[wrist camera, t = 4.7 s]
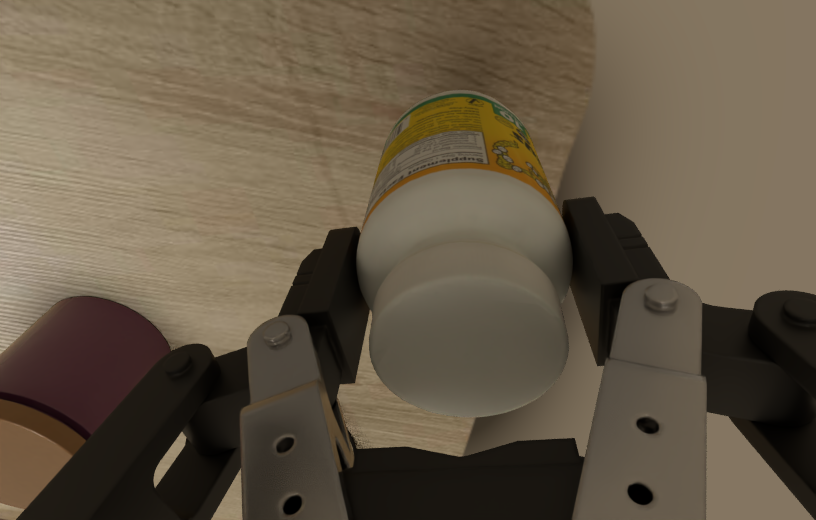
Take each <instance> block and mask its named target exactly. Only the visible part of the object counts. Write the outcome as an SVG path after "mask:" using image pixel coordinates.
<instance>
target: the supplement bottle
mask: <svg viewBox="0 0 816 520" xmlns="http://www.w3.org/2000/svg"><path fill="white" fill-rule="evenodd" d="M356 271H357V277H358V282H359V286H360V289H361V292H362V295H363V297H364V299H365V301H366V303H367V305H368V306H369V308H370V310H371V311H372V324H371V330H370V337H369V351H370V358H371V362H372V364H373V367H374V369H375V371H376V373H377V375H378V376H379V378H380V379H381V381H382V382H383V383H384V384H385V385H386V386H387V387H388V388H389V390H391V391H392V392H393V393H394V394H395V395H397V396H398V397H400V398H401V399H403V400H404V401H406V402H408V403H410V404H412V405H414V406H416V407H418V408H421V409H424V410H426V411H429V412H432V413H437V414H442V415H447V416H456V417H485V416H492V415H497V414H502V413H505V412H509V411H512V410H514V409H517V408H520V407H522V406H525V405H526V404H528V403H530V402H532V401H534V400H536V399H538V398H539V397H540V396H542V395H543V394H544V393H545V392H546V391H547V390H548V389H549V388H550V387H551V386H552V385H553V384H554V383H555V382H556V381H557V379H558V378H559V376H560V375H561V373H562V372H563V369H564V367H565V364H566V361H567V357H568V351H569V345H568V344H569V343H568V334H567V330H566V326H565V321H564V317H563V313H562V310H561V304H562V302H563V301H564V299H565V297H566V294H567V291H568V289H569V286H570V282H571V278H572V271H573V252H572V246H571V241H570V237H569V234H568V230H567V228H566V225H565V223H564V220H563V218H562V215H561V213H560V210H559V208H558V205H557V203H556V201H555V198H554V196H553V193H552V191H551V188H550V186H549V183H548V181H547V178H546V175H545V173H544V171H543V168H542V165H541V163H540V160H539V158H538V156H537V153H536V151H535V148H534V146H533V142H532V140H531V138H530V136H529V134H528V132H527V130H526V128H525V127H524V125H523V124H522V122H521V121H520V119H519V118H518V117H517V116H516V115H515V114H514V113H513V112H512V111H510V110H509V109H508V108H507V107H505V106H504V105H503V104H501V103H500V102H499V101H497V100H495V99H494V98H492V97H490V96H487V95H485V94H482V93H479V92H475V91H469V90H452V91H445V92H441V93H438V94H435V95H432V96H429V97H427V98H425V99H423V100H421V101H419V102H418V103H416V104H415V105H413V106H412V107H411V108H409V109H408V110H407V111H406V112H405V113H404V114H403V115H402V116H401V117H400V118H399V119H398V121H397V122H396V123H395V125H394V126H393V128H392V130H391V131H390V133H389V136H388V138H387V140H386V143H385V146H384V150H383V153H382V156H381V159H380V163H379V167H378V171H377V175H376V178H375V182H374V186H373V190H372V193H371V196H370V200H369V204H368V208H367V211H366V215H365V219H364V222H363V226H362V230H361V234H360V238H359V243H358V248H357V256H356Z"/></svg>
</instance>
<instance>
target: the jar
mask: <svg viewBox="0 0 816 520" xmlns="http://www.w3.org/2000/svg"><path fill="white" fill-rule="evenodd" d="M169 352H171V351H170V348H169V345H168V344H167V342H166V340H165V338H164V337H163V336H162V334H161V333H160V332H159V331H158V330H157V329H156V328H155V327H154V326H153V325H152V324H151V323H150V322H149V321H148V320H146V319H145V318H144V317H142V316H141V315H139V314H138V313H136V312H135V311H133V310H131V309H129V308H127V307H125V306H123V305H120V304H118V303H115V302H112V301H109V300H106V299H102V298H96V297H86V296H80V297H71V298H67V299H64V300H61V301H59V302H58V303H56V304H55V305H53V306H52V307H51V308H50V309H49V310H48V311H47V312H46V313H45V314H44V315H42V316H41V317H40V318H39V319H38V320H37V321H36V322H35V323H34V324H33V325H32V326H31V327H29V328H28V329H27V330H26V331H25V332H24V333H23V334H22V335H21V336H20V337H19V338H17V339H16V340H15V341H14V342H13V343H12V344H11V345H10V346H9V347H8V348H7V349H6V350H4V351H3V352H2V353H1V354H0V503H3V504H6V505H10V506H13V507H17V508H22V509H26V508H27V507H28V506H29V504H30V503H31V502H32V501H33V500H34V499H35V498H36V497H37V495H38V494H39V493H40V492H41V491H42V490H43V489H44V488H45V487H46V485H47V484H48V483H49V482H50V481H51V480H52V479H53V478H54V476H55V475H56V474H57V473H58V472H59V471H60V470H61V469H62V468H63V466H64V465H65V464H66V463H67V462H68V461H69V460H70V459H71V457H72V456H73V455H74V454H75V453H76V452H77V451H78V450H79V448H80V447H81V446H82V445H83V444H84V443H85V442H86V441H87V440H88V438H89V437H90V436H91V435H92V434H93V433H94V432H95V431H96V429H97V428H98V427H99V426H100V425H101V424H102V423H103V422H104V421H105V419H106V418H107V417H108V416H109V415H110V414H111V413H112V412H113V410H114V409H115V408H116V407H117V406H118V405H119V404H120V403H121V402H122V400H123V399H124V398H125V397H126V396H127V395H128V394H129V393H130V391H131V390H132V389H133V388H134V387H135V386H136V385H137V384H138V382H139V381H140V380H141V379H142V378H143V377H144V376H145V375H146V374H147V372H148V371H149V370H150V369H151V368H152V367H153V366H154V365H155V364H156V363H157V362H158V361H159V360H160V359H161V358H162V357H163V356H165V355H166V354H168V353H169Z"/></svg>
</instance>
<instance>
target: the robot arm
mask: <svg viewBox="0 0 816 520" xmlns="http://www.w3.org/2000/svg"><path fill="white" fill-rule="evenodd" d="M562 209H563V210H562V215H563V216H562V218H563V220H564V223H565V225H566V228H567V230H568V234H569V237H570V241H571V246H572V252H573V271H572V278H571V282H570V287H571V290H572V293H573V296H574V299H575V302H576V305H577V308H578V311H579V314H580V316H581V320H582V322H583V325H584V328H585V331H586V334H587V337H588V340H589V343H590V346H591V349H592V352H593V355H594V358H595V361H596V364H597V366H604V369H603V374H602V379H601V384H600V388H599V393H598V398H597V402H596V407H595V412H594V417H593V422H592V426H591V431H590V436H589V440H588V445H587V450H586V454H585V457H581V456H579V453H578V449H577V445H576V441H575V438H567V439H548V440H529V441H516V442H513V443H509V444H506V445H502V446H499V447H496V448H493V449H489V450H485V451H482V452H479V453H475V454H472V455H468V456H464V457H458V456H452V455H447V454H442V453H437V452H431V451H426V450H421V449H416V448H411V447H389V448H369V449H356V451H355V457H354V454H353V451H352V447H351V443H350V439H349V436H348V432H347V428H346V424H345V421H344V417H343V413H342V409H341V406H340V403H339V400H338V398H337V394H338V389H339V385H340V384H350V383H355V380H356V375H357V370H358V365H359V360H360V355H361V350H362V345H363V340H364V336H365V331H366V326H367V321H368V316H369V311H370V308H369V306H368V305H367V303H366V301H365V299H364V297H363V295H362V292H361V289H360V286H359V282H358V277H357V271H356V256H357V248H358V243H359V238H360V234H361V233H360V231H359V229H358V228H357V227H349V228H342V229H334V230H330V231H329V233H328V235H327V238H326V241H325V243H324V246H323V248H322V249H315V250H313V251H312V252H311V253H310V254H309V255H308V256H307V257H306V258H305V259H304V260H303V261H302V263H301V265H300V267H299V270H298V272H297V276H296V277H295V279H294V281H293V283H292V284H293V286H291V288H290V290H289V292H288V295H287V297H286V299H285V302H284V304H283V306H282V308H281V311H280V313H279V315H278V317H275V318H272V319H270V320H268V321H266V322H264V323H263V324H261V325H260V326H259V327H257V328H256V329H255V330H254V331H253V333H252V334H251V335H250V337H249V339H248V342H247V347H245V348H242V349H240V350H237V351H233V352H230V353H227V354H224V355H221V356H218V357H214V355H213V354H212V352H211V350H210V349H209V348H208V347H207V346H205V345H203V344H189V345H185V346H182V347H179V348H177V349H175V350H173V351H171V352H169V353H168V354H166V355H165V356H163V357H162V358H161V359H160V360H159V361H158V362H157V363H156V364H155V365H154V366H153V367H152V368H151V369H150V370H149V371H148V372H147V374H146V375H145V376H144V377H143V378H142V379H141V380H140V381H139V382H138V384H137V385H136V386H135V387H134V388H133V389H132V390H131V391H130V393H129V394H128V395H127V396H126V397H125V398H124V399H123V400H122V402H121V403H120V404H119V405H118V406H117V407H116V408H115V409H114V410H113V412H112V413H111V414H110V415H109V416H108V417H107V418H106V419H105V421H104V422H103V423H102V424H101V425H100V426H99V427H98V428H97V429H96V431H95V432H94V433H93V434H92V435H91V436H90V437H89V438H88V440H87V441H86V442H85V443H84V444H83V445H82V446H81V447H80V448H79V450H78V451H77V452H76V453H75V454H74V455H73V456H72V457H71V459H70V460H69V461H68V462H67V463H66V464H65V465H64V466H63V468H62V469H61V470H60V471H59V472H58V473H57V474H56V475H55V476H54V478H53V479H52V480H51V481H50V482H49V483H48V484H47V485H46V487H45V488H44V489H43V490H42V491H41V492H40V493H39V494H38V495H37V497H36V498H35V499H34V500H33V501H32V502H31V503H30V504H29V506H28V507H27V508H26V509H25V510H24V511H23V512H22V513H21V515H20V516H19V517H18V518H17V519H16V520H211V518H212V517H213V515H214V513H215V512H216V510H217V508H218V506H219V505H220V503H221V501H222V499H223V498H224V496H225V494H226V492H227V491H228V489H229V487H230V486H231V484H232V482H233V480H234V479H235V477H236V475H237V473H238V472H239V470H240V468H241V483H242V517H243V520H706V424H707V423H706V421H707V420H706V419H707V412H710V413H715V414H720V415H726V416H729V418H730V419H731V421H732V422H733V423H734V425H735V426H736V427H737V428H738V429H739V430H740V432H741V433H742V434H743V435H744V436H745V438H746V439H747V440H748V441H749V442H750V444H751V445H752V446H753V447H754V448H755V449H756V450H757V452H758V453H759V454H760V455H761V457H762V458H763V459H764V460H765V461H766V463H767V464H768V465H769V466H770V467H771V468H772V470H773V471H774V472H775V473H776V474H777V476H778V477H779V478H780V479H781V480H782V481H783V482H784V484H785V485H786V486H787V487H788V489H789V490H790V491H791V492H792V493H793V495H795V497H796V498H797V499H798V500H799V502H800V503H801V504H802V505H803V506H804V508H805V509H806V510H807V511H808V512H809V513H810V515H811V516H812V517H813V518H814V519H815V520H816V295H814V294H810V293H805V292H799V291H787V290H785V291H775V292H770V293H767V294H764V295H763V296H761V297H759V298H758V299H757V300H756V302H755V304H754V308H753V310H744V309H735V308H725V307H718V306H712V305H708V304H704V303H702V301H701V299H700V297H699V296H698V294H697V293H696V292H695V291H694V290H693V289H691V288H690V287H688V286H686V285H684V284H681V283H679V282H677V281H672V280H670V279H669V277H668V276H667V274H666V273H665V271H664V270H663V268H662V266H661V264H660V263H659V261H658V260H657V258H656V257H655V255H654V254H653V252H652V250H651V249H650V247H648V244H647V242H646V241H645V239H644V238H643V237H642V236H641V233H640V231H639V230H638V228H637V227H636V225H635V224H634V222H632V221H631V220H629V219H627V218H626V217H624V216H622V215H621V214H619V213H613V214H604V213H603V211H602V209H601V207H600V205H599V204H598V202H597V200H596V198H595V197H586V198H578V199H571V200H564V202H563V208H562ZM181 432H183V433H184V435H185V436H186V437H187V439H188V440H189V441H188V442H187V444H186V445H185V447H184V448H183V449H182V451H181V452H180V454H179V455H178V457H177V458H176V459H175V461H174V462H173V464H172V465H171V466H170V468H169V469H168V471H167V472H166V474H165V475H164V476H163V478H162V479H161V481H160V482H159V484H158V485H157V486H156V488H155V487H154V483H153V478H154V473H155V470H156V467H157V465H158V464H159V462H160V461H161V459H162V458H163V456H164V455H165V454H166V452H167V451H168V450H169V448H170V447H171V445H172V444H173V443H174V441H175V440H176V439H177V437H178V436H179V434H180V433H181Z"/></svg>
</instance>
